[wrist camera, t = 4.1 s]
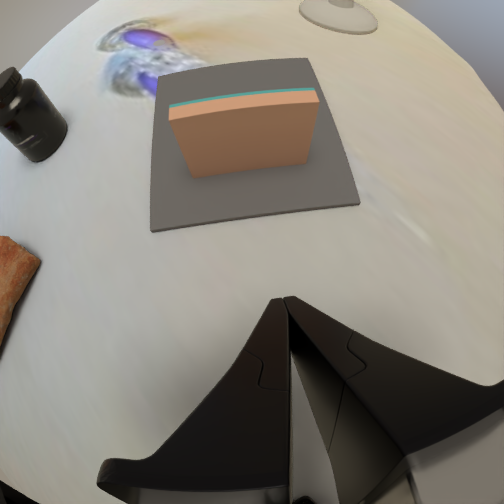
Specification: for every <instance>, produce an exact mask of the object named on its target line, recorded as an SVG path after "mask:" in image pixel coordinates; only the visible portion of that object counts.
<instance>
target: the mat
mask: <svg viewBox="0 0 504 504" xmlns="http://www.w3.org/2000/svg"><path fill="white" fill-rule="evenodd" d="M293 88H314V89H315V92H316V94H317V97H318V99H319V102H320V103H319V107H318V112H317V117H316V121H315V126H314V130H313V135H312V139H311V144H310V148H309V153H308V157H307V161H306V164H299V165H289V166H280V167H271V168H262V169H254V170H247V171H239V172H232V173H225V174H218V175H212V176H206V177H199V178H193V177H192V175H191V173H190V170H189V168H188V166H187V163H186V161H185V158H184V156H183V154H182V151H181V149H180V147H179V144H178V142H177V139H176V137H175V135H174V132H173V130H172V127H171V125H170V122H169V105H172V104H177V103H182V102H187V101H193V100H198V99H204V98H210V97H216V96H223V95H230V94H238V93H246V92H255V91H265V90H277V89H293ZM360 203H361V202H360V199H359V195H358V192H357V188H356V185H355V182H354V178H353V175H352V172H351V169H350V166H349V163H348V159H347V156H346V153H345V151H344V148H343V145H342V142H341V139H340V136H339V133H338V131H337V128H336V125H335V122H334V120H333V117H332V115H331V112H330V109H329V107H328V104H327V102H326V99H325V97H324V94H323V92H322V90H321V87H320V85H319V82H318V80H317V78H316V75H315V73H314V71H313V69H312V66H311V64H310V62H309V60H308V58H287V59H270V60H257V61H247V62H238V63H230V64H222V65H215V66H209V67H203V68H197V69H192V70H187V71H182V72H177V73H172V74H168V75H163V76H159V77H158V84H157V92H156V102H155V113H154V125H153V139H152V157H151V186H150V231H151V232H158V231H165V230H171V229H177V228H184V227H190V226H197V225H203V224H210V223H217V222H224V221H231V220H238V219H245V218H253V217H260V216H268V215H276V214H284V213H292V212H300V211H308V210H317V209H325V208H334V207H344V206H353V205H359V204H360Z"/></svg>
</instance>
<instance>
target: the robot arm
mask: <svg viewBox="0 0 504 504" xmlns="http://www.w3.org/2000/svg"><path fill="white" fill-rule="evenodd" d="M291 354H292V357H293V360H294V363H295V365H296V368H297V371H298V374H299V376H300V379H301V382H302V384H303V387H304V390H305V393H306V395H307V398H308V401H309V404H310V406H311V409H312V412H313V415H314V417H315V420H316V423H317V425H318V428H319V431H320V434H321V436H322V439H323V442H324V445H325V447H326V450H327V453H328V456H329V458H330V462H331V465H332V469H333V473H334V478H335V483H336V488H337V493H338V499H339V504H504V380H502V381H500V382H499V383H497V384H495V385H492V386H483V385H479V384H476V383H474V382H471V381H469V380H466V379H463V378H461V377H458V376H456V375H453V374H451V373H448V372H446V371H443V370H441V369H438V368H436V367H434V366H431V365H429V364H426V363H424V362H421V361H419V360H417V359H414V358H412V357H409V356H407V355H405V354H402V353H400V352H397V351H395V350H393V349H390V348H388V347H386V346H384V345H381V344H379V343H377V342H375V341H373V340H371V339H369V338H367V337H365V336H364V335H362V334H360V333H358V332H357V331H354V330H352V329H351V328H349V327H347V326H345V325H344V324H342V323H340V322H338V321H337V320H335V319H333V318H332V317H330V316H328V315H326V314H325V313H323V312H321V311H319V310H318V309H316V308H314V307H313V306H311V305H309V304H308V303H306V302H304V301H302V300H301V299H299V298H297V297H296V296H288V297H284V298H283V299H282V298H275V299H271V300H270V302H269V304H268V305H267V307H266V309H265V311H264V312H263V314H262V316H261V318H260V319H259V321H258V323H257V325H256V326H255V328H254V330H253V332H252V333H251V335H250V337H249V339H248V340H247V342H246V344H245V345H244V347H243V349H242V350H241V352H240V353H239V355H238V357H237V358H236V360H235V361H234V363H233V364H232V366H231V367H230V369H229V370H228V371H227V372H226V374H225V375H224V376H223V377H222V379H221V380H220V381H219V382H218V383H217V384H216V386H215V387H214V388H213V389H212V390H211V391H210V392H209V394H208V395H207V396H206V397H205V398H204V399H203V401H202V402H201V403H200V404H199V405H198V406H197V407H196V408H195V410H194V411H193V412H192V413H191V414H190V415H189V416H188V417H187V419H186V420H185V421H184V422H183V423H182V424H181V425H180V426H179V427H178V428H177V430H176V431H175V432H174V433H173V434H172V435H171V436H170V437H169V438H168V439H167V440H166V441H165V442H164V444H163V445H162V446H161V447H160V448H159V449H158V450H157V451H156V452H155V453H154V454H153V455H151V456H149V457H147V458H145V459H141V460H131V459H122V458H110V459H106V460H105V461H104V462H103V463H102V465H101V467H100V471H99V473H98V477H97V486H98V487H99V488H100V489H102V490H103V491H105V492H107V493H109V494H110V495H112V496H114V497H116V498H118V499H120V500H122V501H124V502H125V503H127V504H316V503H315V502H314V501H313V500H312V499H311V498H310V497H308V496H304V497H301V498H300V499H298V500H296V501H294V502H293V503H292V487H293V429H292V375H291ZM303 501H307V502H305V503H303ZM0 504H39V503H37V502H35V501H34V500H32V499H30V498H28V497H26V496H25V495H24V494H22V493H20V492H18V491H17V490H15V489H13V488H12V487H10V486H9V485H7V484H5V483H4V482H2V481H1V480H0Z"/></svg>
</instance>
